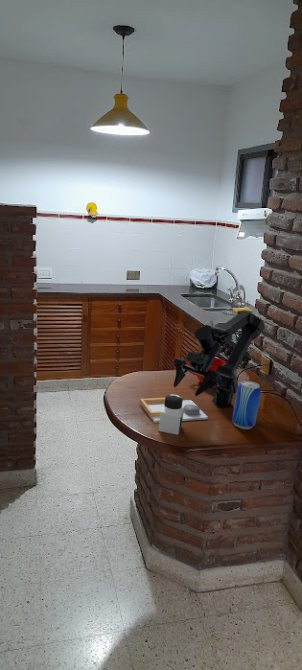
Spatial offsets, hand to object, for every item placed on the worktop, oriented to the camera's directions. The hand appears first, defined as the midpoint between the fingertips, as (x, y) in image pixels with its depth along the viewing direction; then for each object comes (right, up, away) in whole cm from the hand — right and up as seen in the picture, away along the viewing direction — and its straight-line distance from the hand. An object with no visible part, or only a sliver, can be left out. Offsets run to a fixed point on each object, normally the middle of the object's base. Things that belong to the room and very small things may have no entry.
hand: (184, 391), depth 171 cm
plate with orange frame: (-3, -9, +13) cm, 16 cm away
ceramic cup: (+11, -1, +45) cm, 47 cm away
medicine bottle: (-5, -13, -1) cm, 14 cm away
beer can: (+22, -13, +8) cm, 27 cm away
